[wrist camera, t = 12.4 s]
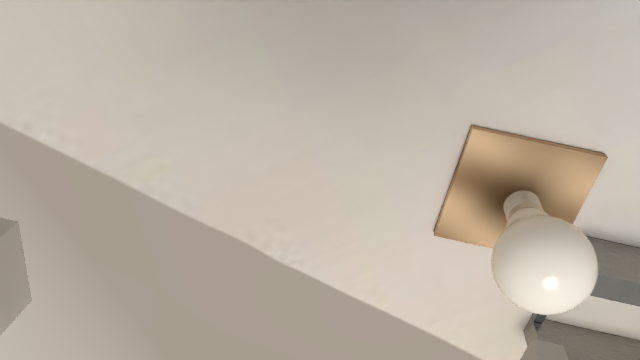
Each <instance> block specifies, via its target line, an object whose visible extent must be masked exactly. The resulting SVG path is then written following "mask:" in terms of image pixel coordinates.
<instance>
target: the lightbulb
mask: <svg viewBox="0 0 640 360" xmlns="http://www.w3.org/2000/svg"><path fill="white" fill-rule="evenodd" d="M503 209H504V212H505V215H506V219H507V224H506V229H505V230H504V231H503V232H502V233H501V234H500V236H499V237H498V239H497V241H496V243H495V245H494V248H493V251H492V257H491V267H492V273H493V276H494V279H495V282H496V284H497V286H498V287H499V289H500V291H501V292H502V293H503V294H504V296H505V297H506V298H507V299H508V300H509V301H511V302H512V303H513V304H515V305H516V306H518V307H519V308H521V309H523V310H526V311H528V312H531V313H535V314H540V315H557V314H562V313H565V312H568V311H571V310H573V309H575V308H576V307H578V306H579V305H581V304H582V303H583V302H584V301H585V300H586V299H587V298H588V297H589V296H590V294H591V293H592V291H593V289H594V287H595V285H596V282H597V278H598V260H597V256H596V252H595V250H594V248H593V246H592V244H591V242H590V241H589V239H588V238H587V237H586V236H585V235H584V233H583V232H581V231H580V230H579V229H578V228H577V227H575V226H574V225H572V224H571V223H569V222H567V221H565V220H562V219H560V218H556V217H552V216H550V215H549V214H547V213H546V212H545V211H544V210H543V207H542V205H541V203H540V201H539V198H538V197H537V195H536V194H534V193H532V192H530V191H526V190H521V191H516V192H514V193H512V194H510V195H509V196H508V197H507V198H506V199H505V201H504V204H503Z"/></svg>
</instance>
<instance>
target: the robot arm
mask: <svg viewBox="0 0 640 360" xmlns="http://www.w3.org/2000/svg"><path fill="white" fill-rule="evenodd" d="M30 302H31V294H30V288H29V282H28V276H27V271H26V264H25V258H24V253H23V247H22V241H21V235H20V229H19V224H18V222H17V221H13V220H9V219H4V218H0V335H1V334H2V333H3V332H4V331H5V329H6V328H7V327H8V326H9V325H10V324H11V323H12V322H13V321H14V320H15V318H16V317H17V316H18V315H19V314H20V313H21V312H22V311H23V310H24V308H25V307H26V306H27V305H28V304H29V303H30ZM520 360H568V357H567V354H566V351H565V348H564V346H563V345H559V344H555V343H551V342H546V341H542V340H537V339H533V338H532V340H531V342H530V343H529V345H528V347H527V349H526V351H525V352H524V354H523V356H522V358H521V359H520Z"/></svg>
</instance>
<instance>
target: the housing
mask: <svg viewBox="0 0 640 360" xmlns="http://www.w3.org/2000/svg"><path fill="white" fill-rule="evenodd" d="M586 237H587V236H586ZM587 238H588V239H589V241H590V242H591V244H592V246H593V248H594V250H595V252H596V256H597V260H598V278H597V282H596V285H595V287H594V289H593V291H592V293H591V294H590V295H591V296H595V297H600V298H604V299H609V300H613V301H618V302H622V303H627V304H631V305H636V306H640V248H638V247H633V246H628V245H624V244H619V243H615V242H610V241H606V240H601V239H597V238H592V237H587ZM546 316H547V315H540V314H535V313H533V315H532V317H531V319H530V321H529V323H528V324H527V326H526V328H525V330H524V335H525V339H526V342H527V346H528V345H529V343H530V342H531V340H532V338H533V339H537V340H542V341H546V342H551V343H555V344H559V345H563V346H564V348H565V351H566V354H567V357H568V360H640V341H638V340H633V339H629V338H624V337H620V336H616V335H611V334H607V333H602V332H598V331H593V330H589V329H584V328H580V327H576V326H571V325H567V324H562V323H558V322H553V321H549V320H545V317H546Z"/></svg>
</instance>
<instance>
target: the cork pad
mask: <svg viewBox="0 0 640 360" xmlns="http://www.w3.org/2000/svg"><path fill="white" fill-rule="evenodd" d="M607 158H608V157H607V156H606V155H605V154H603V153H599V152H594V151H589V150H585V149H580V148H575V147H571V146H566V145H561V144H557V143H552V142H547V141H543V140H538V139H533V138H529V137H524V136H519V135H515V134H510V133H505V132H501V131H496V130H491V129H487V128H482V127H477V126H471V128H470V131H469V134H468V137H467V140H466V142H465V145H464V148H463V151H462V154H461V156H460V159H459V162H458V165H457V168H456V170H455V173H454V176H453V179H452V182H451V184H450V187H449V190H448V193H447V196H446V198H445V201H444V204H443V207H442V210H441V212H440V215H439V218H438V221H437V224H436V226H435V229H434V236H438V237H443V238H447V239H452V240H456V241H461V242H465V243H470V244H474V245H479V246H484V247H488V248H494V245H495V243H496V241H497V239H498V237H499V236H500V234H501V233H502V232H503V231H504V230H505V229H506V224H507V219H506V215H505V212H504V209H503V204H504V201H505V199H506V198H507V197H508V196H509V195H510V194H512V193H514V192H516V191H521V190H526V191H530V192H532V193H534V194H536V195H537V197H538V198H539V201H540V203H541V205H542V207H543V210H544V211H545V212H546V213H547V214H549V215H550V216H552V217H556V218H560V219H562V220H565V221H567V222H569V223H571V224H573V222H574V220H575V218H576V216H577V214H578V213H579V211H580V209H581V207H582V205H583V203H584V201H585V199H586V197H587V196H588V194H589V192H590V190H591V188H592V186H593V184H594V182H595V180H596V179H597V177H598V175H599V173H600V171H601V169H602V167H603V165H604V163H605V162H606V160H607Z"/></svg>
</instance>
